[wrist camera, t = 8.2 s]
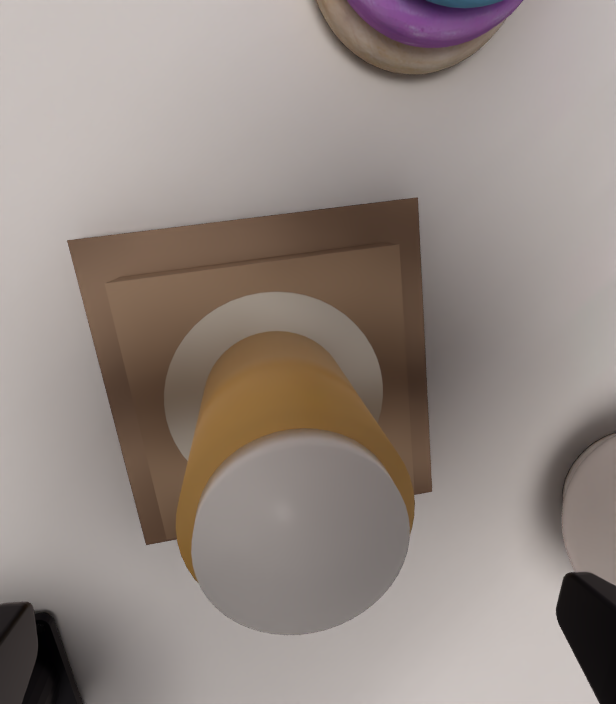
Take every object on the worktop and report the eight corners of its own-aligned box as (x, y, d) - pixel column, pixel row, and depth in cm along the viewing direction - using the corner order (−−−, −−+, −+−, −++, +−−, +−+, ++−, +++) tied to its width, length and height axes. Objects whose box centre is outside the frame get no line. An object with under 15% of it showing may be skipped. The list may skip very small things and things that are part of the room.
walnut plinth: (422, 477, 22) (451, 519, 19) (151, 527, 21) (135, 580, 18) (407, 199, 19) (440, 194, 16) (78, 239, 18) (42, 242, 14)
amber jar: (364, 352, 17) (465, 458, 9) (321, 476, 18) (379, 663, 10) (224, 313, 16) (207, 397, 8) (188, 448, 17) (143, 633, 9)
